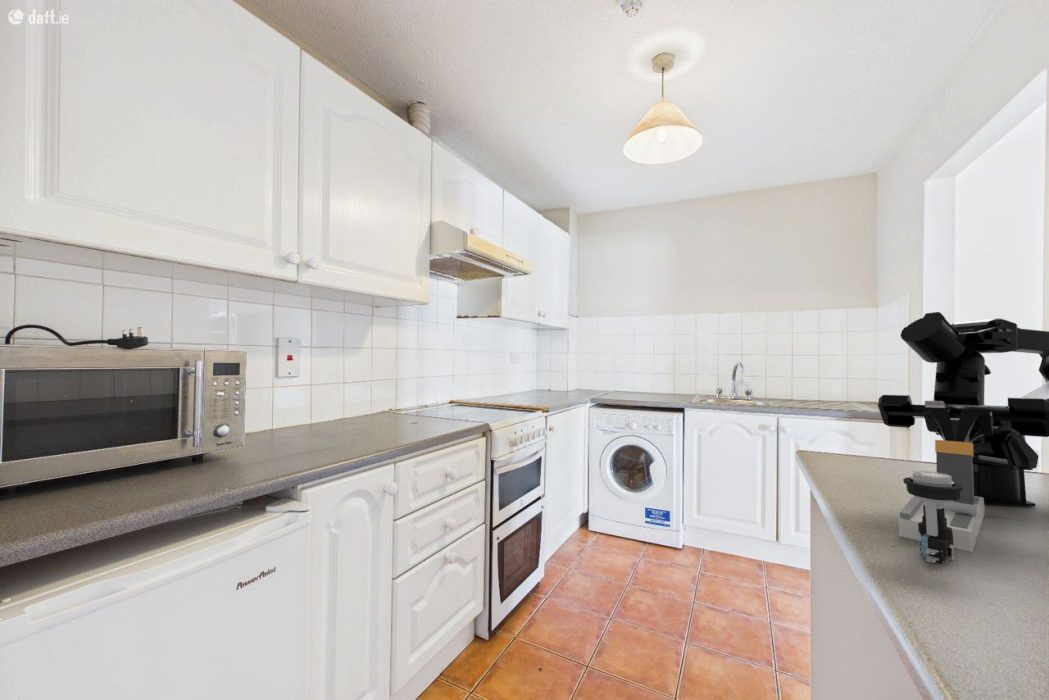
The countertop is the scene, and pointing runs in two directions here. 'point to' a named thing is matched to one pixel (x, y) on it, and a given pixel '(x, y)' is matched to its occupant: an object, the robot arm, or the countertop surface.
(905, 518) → the panel
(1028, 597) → the countertop surface
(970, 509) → the lever
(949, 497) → the push button
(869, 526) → the countertop surface
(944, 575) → the countertop surface
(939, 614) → the countertop surface
